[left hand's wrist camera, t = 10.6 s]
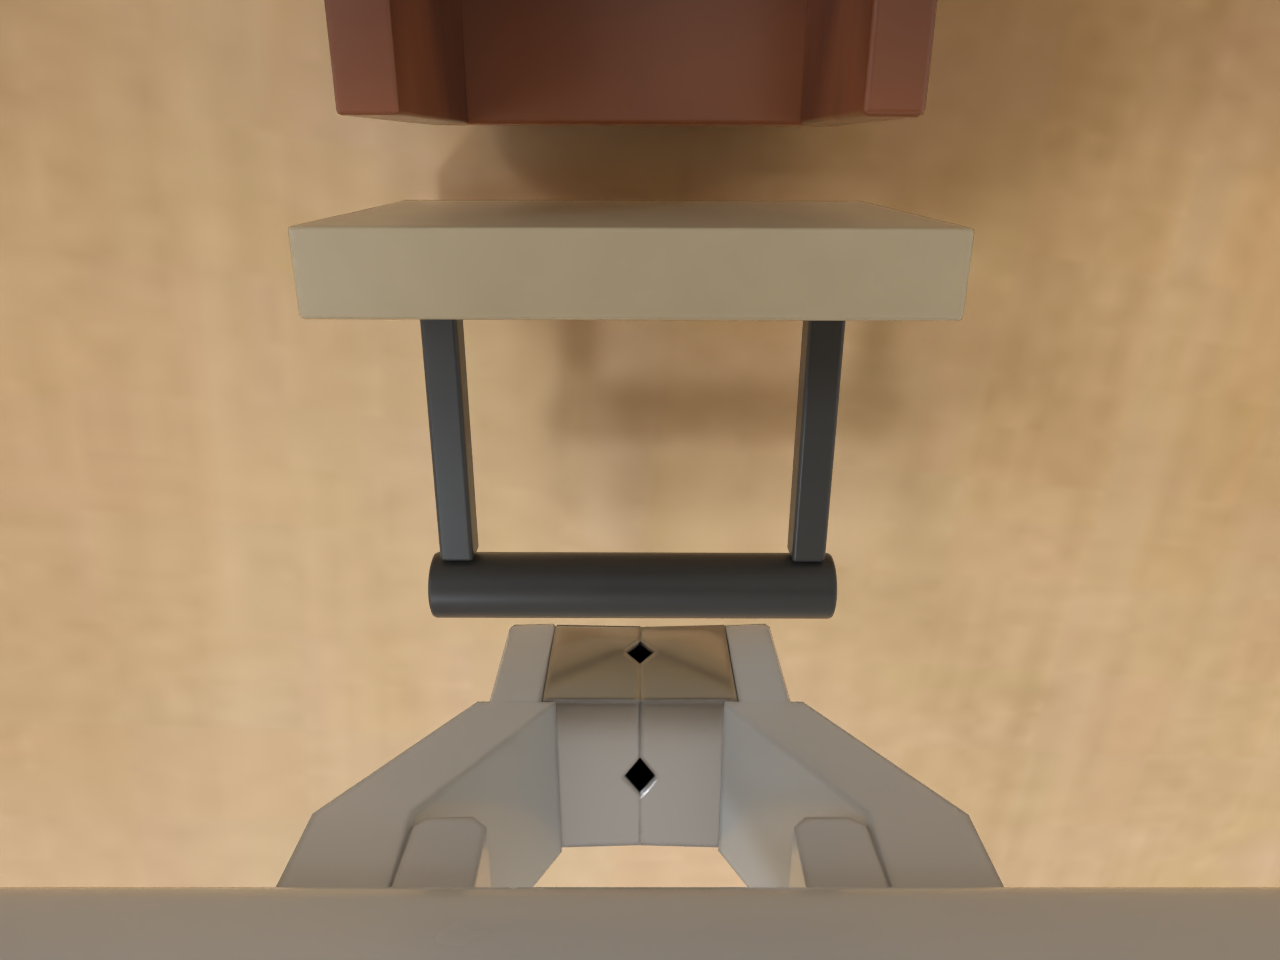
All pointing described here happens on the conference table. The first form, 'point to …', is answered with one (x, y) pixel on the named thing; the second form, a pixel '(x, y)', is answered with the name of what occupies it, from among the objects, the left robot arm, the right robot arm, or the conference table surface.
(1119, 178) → the conference table surface
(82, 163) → the conference table surface
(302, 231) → the drawer
